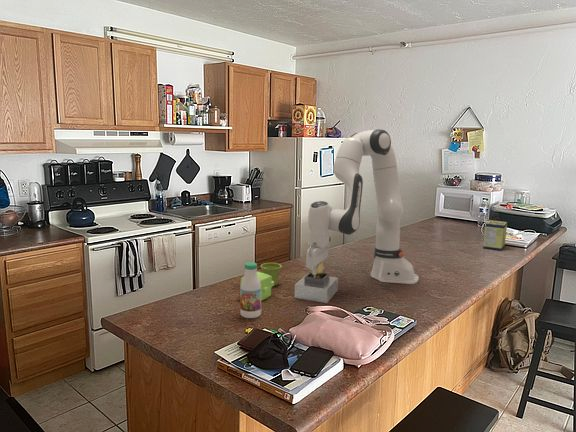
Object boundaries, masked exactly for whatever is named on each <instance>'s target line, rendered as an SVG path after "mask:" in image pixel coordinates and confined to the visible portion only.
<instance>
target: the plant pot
mask: <svg viewBox="0 0 576 432" xmlns="http://www.w3.org/2000/svg"><path fill="white" fill-rule="evenodd" d="M260 268H261V270H262V273H265V274H268V275H270V276H272V281H274V286H273V287H275V286H277V285H278V281H279V276H280V271H281V268H282V264H280V263H277V262H265V263H261V264H260Z"/></svg>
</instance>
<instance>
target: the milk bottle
mask: <svg viewBox="0 0 576 432" xmlns="http://www.w3.org/2000/svg"><path fill="white" fill-rule="evenodd" d="M244 270H245V271H244V275H243V276H242V277H243V279H242V282H241V295H240V294H239V299H240V300H239V301H240V315H241V317H242V318H244V319H245V318H246V319H255V318H259V317H260V316H261V314H262V301H261V283H260V280H259V278H258V275H257V272H258V271H257V270H258V263H256V262H251V261H249V262H246V263H244Z"/></svg>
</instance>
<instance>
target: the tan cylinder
mask: <svg viewBox="0 0 576 432" xmlns="http://www.w3.org/2000/svg"><path fill="white" fill-rule="evenodd" d="M323 267H324V261H323V262H321V263H319V264H318V265H317V274H316V275H313V274H312V268H311V270H310V272H311V277H314V278H321V279H323V273H324V268H323Z"/></svg>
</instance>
